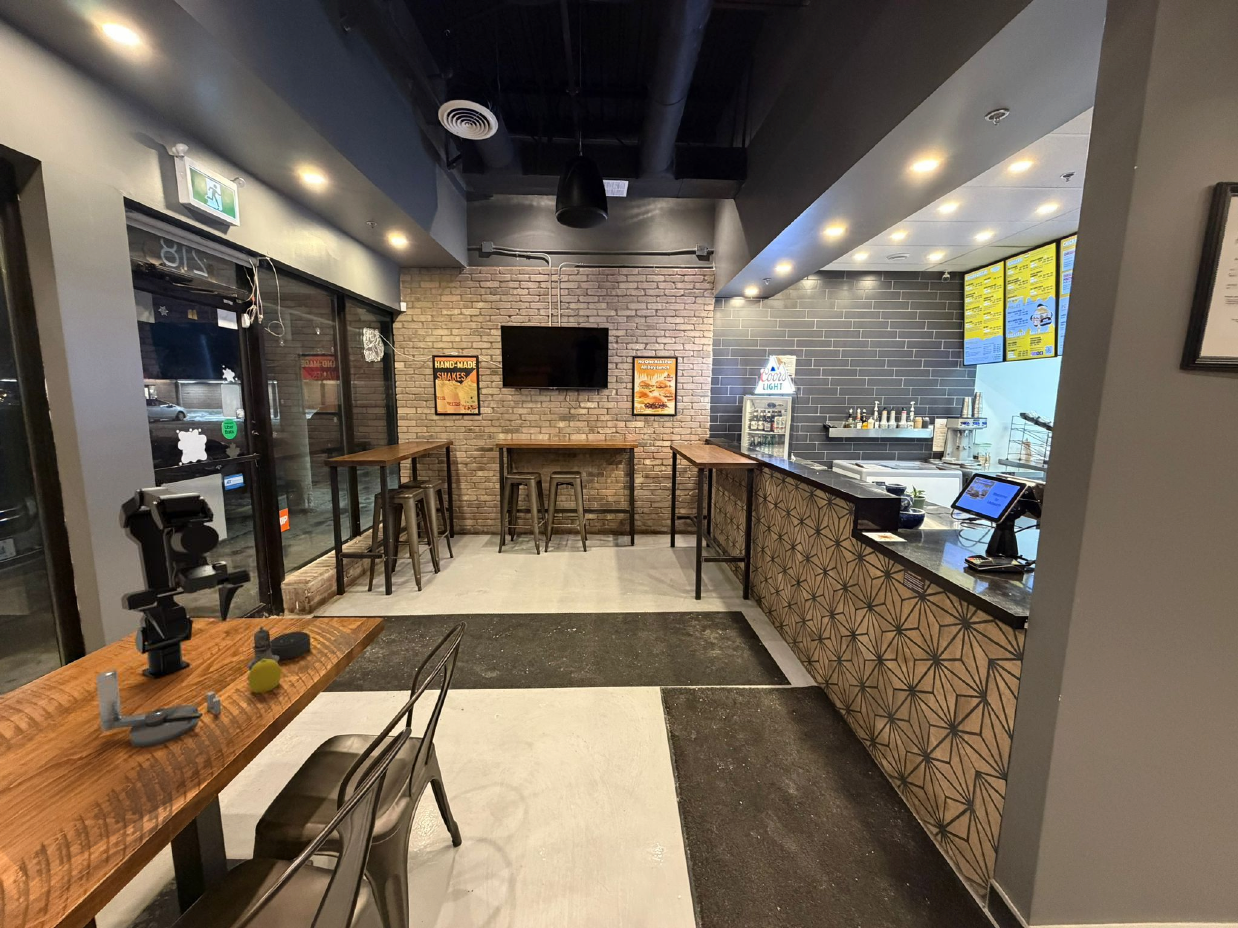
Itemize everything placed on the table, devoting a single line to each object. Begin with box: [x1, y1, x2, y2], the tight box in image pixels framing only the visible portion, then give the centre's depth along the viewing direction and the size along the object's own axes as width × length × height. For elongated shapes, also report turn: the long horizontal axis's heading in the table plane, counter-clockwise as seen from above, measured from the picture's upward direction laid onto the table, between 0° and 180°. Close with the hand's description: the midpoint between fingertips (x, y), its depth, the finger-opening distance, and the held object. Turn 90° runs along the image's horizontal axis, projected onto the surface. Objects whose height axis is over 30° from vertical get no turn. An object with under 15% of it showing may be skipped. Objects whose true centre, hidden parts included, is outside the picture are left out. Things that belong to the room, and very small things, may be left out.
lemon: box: [248, 659, 282, 694], centre depth 98 cm, size 6×6×8 cm
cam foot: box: [95, 669, 203, 749], centre depth 84 cm, size 13×11×12 cm
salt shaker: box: [247, 626, 279, 672], centre depth 105 cm, size 6×6×12 cm
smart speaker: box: [270, 631, 312, 662], centre depth 116 cm, size 9×9×4 cm
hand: (195, 629), depth 94 cm, fingers open, 9 cm apart
